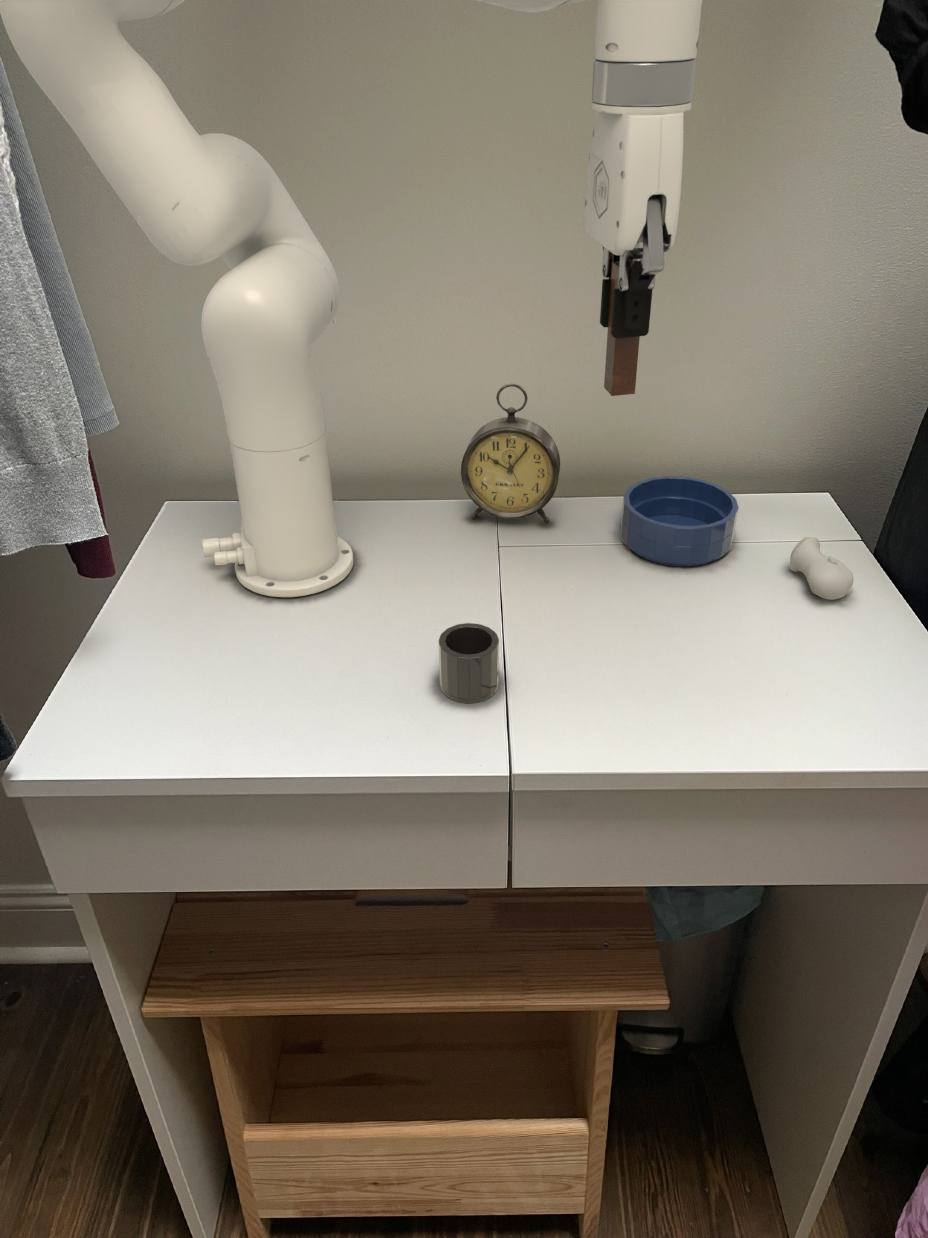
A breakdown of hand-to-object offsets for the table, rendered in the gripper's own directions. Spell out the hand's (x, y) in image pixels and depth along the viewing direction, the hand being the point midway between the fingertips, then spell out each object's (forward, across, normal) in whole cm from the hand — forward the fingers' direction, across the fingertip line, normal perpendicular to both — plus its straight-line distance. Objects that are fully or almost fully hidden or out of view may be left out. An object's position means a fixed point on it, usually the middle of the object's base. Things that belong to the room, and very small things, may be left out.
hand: (623, 328), depth 82 cm
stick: (+6, 0, 0) cm, 6 cm away
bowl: (+27, -9, +11) cm, 31 cm away
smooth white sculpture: (+28, +3, +22) cm, 36 cm away
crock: (+27, +12, -16) cm, 34 cm away
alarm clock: (+27, -18, -6) cm, 33 cm away
